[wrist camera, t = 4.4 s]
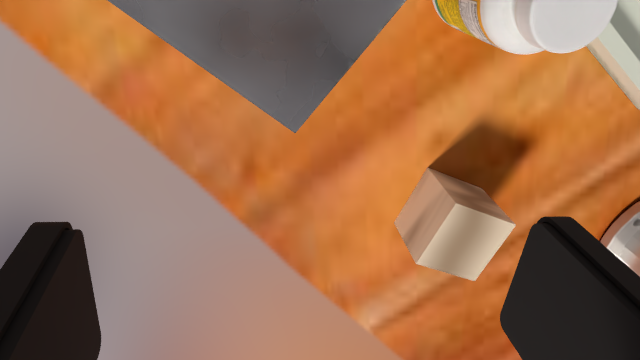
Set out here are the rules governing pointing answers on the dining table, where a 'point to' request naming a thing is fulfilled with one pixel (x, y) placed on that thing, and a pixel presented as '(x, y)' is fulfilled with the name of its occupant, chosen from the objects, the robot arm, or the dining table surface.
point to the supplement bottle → (529, 22)
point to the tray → (621, 48)
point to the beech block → (452, 225)
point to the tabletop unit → (269, 44)
